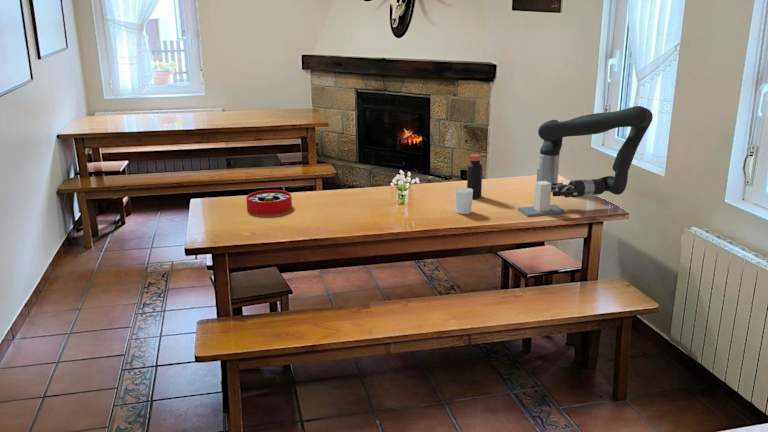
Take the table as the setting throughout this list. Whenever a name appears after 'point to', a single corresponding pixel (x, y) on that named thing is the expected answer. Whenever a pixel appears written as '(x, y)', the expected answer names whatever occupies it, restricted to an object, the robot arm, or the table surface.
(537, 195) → the block
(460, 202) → the white cup
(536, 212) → the mat
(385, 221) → the table surface
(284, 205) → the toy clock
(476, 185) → the bottle
